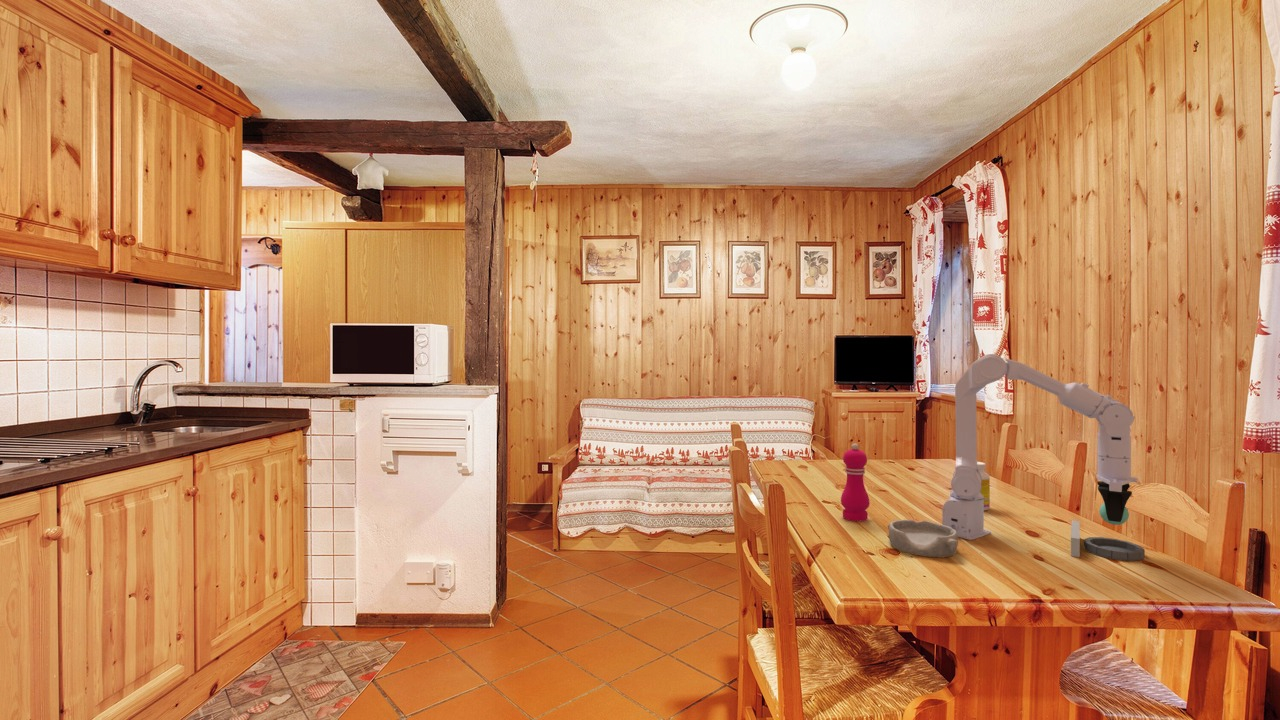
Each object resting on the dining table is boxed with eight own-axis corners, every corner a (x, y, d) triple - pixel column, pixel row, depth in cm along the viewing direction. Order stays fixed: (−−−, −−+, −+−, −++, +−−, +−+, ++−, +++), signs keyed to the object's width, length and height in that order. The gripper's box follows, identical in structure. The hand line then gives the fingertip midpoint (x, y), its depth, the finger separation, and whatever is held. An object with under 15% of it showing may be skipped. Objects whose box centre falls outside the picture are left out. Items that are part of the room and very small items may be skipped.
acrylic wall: (1079, 557, 124) (1079, 539, 124) (1070, 556, 125) (1070, 537, 125) (1079, 537, 136) (1079, 521, 136) (1071, 536, 137) (1071, 519, 137)
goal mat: (1133, 564, 120) (1133, 555, 120) (1076, 550, 128) (1076, 542, 128) (1150, 554, 125) (1150, 546, 125) (1095, 542, 133) (1095, 534, 133)
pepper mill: (835, 515, 156) (834, 442, 156) (857, 513, 159) (857, 440, 158) (852, 523, 149) (852, 446, 149) (875, 520, 152) (875, 444, 151)
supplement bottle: (995, 509, 161) (995, 464, 160) (978, 512, 158) (978, 465, 158) (973, 504, 167) (973, 459, 167) (956, 506, 164) (956, 461, 164)
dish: (966, 561, 122) (966, 538, 122) (896, 557, 125) (896, 534, 125) (944, 539, 137) (944, 518, 136) (882, 536, 139) (882, 515, 139)
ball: (1123, 529, 123) (1123, 505, 123) (1095, 523, 127) (1095, 500, 127) (1132, 525, 126) (1132, 502, 125) (1104, 519, 130) (1104, 497, 130)
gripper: (1140, 463, 118) (1140, 529, 118) (1135, 453, 129) (1135, 513, 130) (1097, 459, 122) (1096, 523, 122) (1095, 450, 134) (1095, 508, 134)
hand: (1113, 518), depth 126 cm, fingers closed on ball, 5 cm apart
